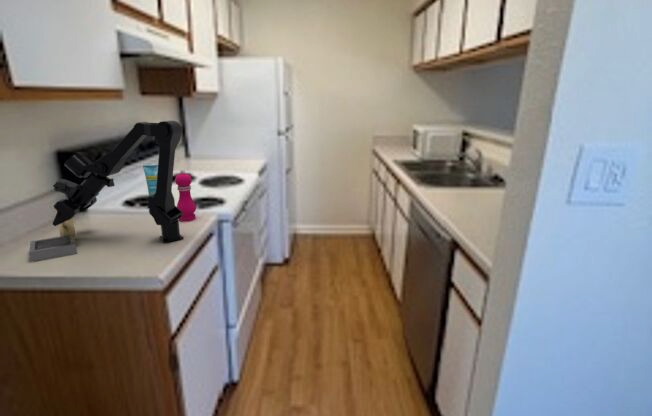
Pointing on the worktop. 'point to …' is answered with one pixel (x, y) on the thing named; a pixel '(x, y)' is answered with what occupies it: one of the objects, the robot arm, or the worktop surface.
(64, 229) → the beige tall cylinder
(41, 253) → the collar
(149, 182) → the tube
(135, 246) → the worktop surface
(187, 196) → the pepper mill
